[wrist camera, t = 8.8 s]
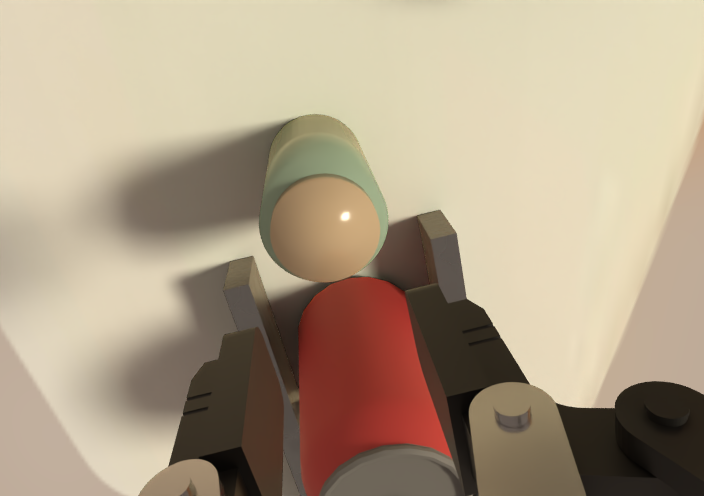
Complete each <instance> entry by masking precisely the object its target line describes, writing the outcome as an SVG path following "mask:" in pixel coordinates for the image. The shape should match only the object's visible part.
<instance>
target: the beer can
mask: <svg viewBox="0 0 704 496" xmlns="http://www.w3.org/2000/svg"><path fill="white" fill-rule="evenodd" d="M298 341H299V411H300V463H301V478H302V482H303V485H304V489H305V492H306V494H307V496H465V494H464V491H463V488H462V485H461V483H460V480H459V477H458V474H457V471H456V468H455V465H454V462H453V459H452V456H451V454H450V451H449V448H448V445H447V442H446V439H445V436H444V433H443V430H442V427H441V425H440V422H439V419H438V416H437V413H436V410H435V407H434V404H433V401H432V398H431V396H430V393H429V390H428V387H427V384H426V381H425V378H424V375H423V372H422V369H421V365H420V361H419V358H418V354H417V349H416V345H415V340H414V335H413V330H412V326H411V321H410V316H409V311H408V307H407V302H406V297H405V292H404V291H403V290H401V289H400V288H398V287H396V286H395V285H393V284H391V283H390V282H388V281H384V280H380V279H375V278H371V277H357V278H348V279H345V280H342V281H339V282H336V283H333V284H331V285H329V286H328V287H326V288H325V289H324V290H322V291H321V292H319V293H318V294H317V295H315V296H314V298H313V299H312V300H311V301H310V303H309V304H308V305H307V307H306V308H305V309H304V311H303V314H302V317H301V320H300V323H299V326H298ZM469 496H473V495H469Z"/></svg>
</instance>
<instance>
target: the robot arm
mask: <svg viewBox="0 0 704 496" xmlns="http://www.w3.org/2000/svg"><path fill="white" fill-rule="evenodd" d="M405 297H406V302H407V307H408V311H409V316H410V321H411V326H412V330H413V335H414V340H415V345H416V349H417V354H418V358H419V361H420V365H421V369H422V372H423V375H424V378H425V381H426V384H427V387H428V390H429V393H430V396H431V398H432V401H433V404H434V407H435V410H436V413H437V416H438V419H439V422H440V425H441V427H442V430H443V433H444V436H445V439H446V442H447V445H448V448H449V451H450V454H451V456H452V459H453V462H454V465H455V468H456V471H457V474H458V477H459V480H460V483H461V485H462V488H463V491H464V494H465V496H469V495H473V494H477V493H479V496H704V395H703V394H701V393H699V392H697V391H695V390H693V389H691V388H688V387H686V386H683V385H679V384H675V383H670V382H657V381H652V382H644V383H639V384H636V385H633V386H630V387H629V388H627V389H625V390H624V391H623V392H622V393H621V394H620V395H619V396H618V397H617V400H616V402H615V408H575V407H569V406H564V405H561V404H557V403H555V402H554V400H553V399H552V398H551V396H549V395H548V394H547V393H546V392H545V391H543V390H541V389H540V388H537V387H535V386H532V385H530V384H529V382H528V380H527V379H526V377H525V376H524V374H523V372H522V371H521V369H520V367H519V366H518V364H517V362H516V361H515V359H514V358H513V356H512V354H511V353H510V351H509V349H508V348H507V346H506V345H505V343H504V341H503V340H502V339H501V338H500V335H499V333H498V331H497V330H496V328H495V327H493V323H492V322H491V320H490V318H489V317H488V315H487V314H486V312H485V310H484V309H483V308H481V307H479V306H478V305H476V304H474V303H473V302H471V301H469V300H468V299H464V300H460V301H456V302H452V303H447V301H446V299H445V297H444V295H443V293H442V291H441V289H440V287H439V285H438V284H437V283H434V284H430V285H426V286H422V287H418V288H414V289H410V290H406V291H405ZM283 431H284V403H283V396H282V391H281V387H280V383H279V380H278V377H277V374H276V372H275V369H274V366H273V363H272V360H271V358H270V355H269V352H268V349H267V346H266V343H265V341H264V338H263V335H262V333H261V331H260V329H259V328H258V327H254V328H250V329H246V330H242V331H238V332H234V333H229V334H225V335H224V336H223V340H222V345H221V350H220V354H219V359H218V360H214V361H210V362H206V363H204V365H203V366H202V367H201V369H200V370H199V371H198V373H197V374H196V375H195V376H194V378H193V379H192V380H191V384H190V388H189V392H188V395H187V401H186V403H185V406H184V410H183V416H182V418H181V421H180V425H179V429H178V432H177V436H176V440H175V444H174V447H173V451H172V455H171V459H170V462H169V466H168V467H167V468H165V469H164V470H162V471H161V472H159V473H158V474H156V475H155V476H154V477H153V478H152V479H151V480H150V481H149V482H148V483H147V484H146V485H145V486H144V488H143V489H142V490H141V492H140V494H139V495H138V496H282V473H283Z"/></svg>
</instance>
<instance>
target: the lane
mask: <svg viewBox="0 0 704 496" xmlns="http://www.w3.org/2000/svg"><path fill="white" fill-rule="evenodd" d="M417 218H418V223H419V228H420V234H421V239H422V244H423V250H424V255H425V261H426V266H427V271H428V277H429V282H430V284H434V283H437V284H438V285H439V287H440V289H441V291H442V293H443V295H444V297H445V299H446V301H447V303H452V302H456V301H460V300H464V299H467V298H466V292H465V285H464V279H463V272H462V266H461V259H460V253H459V246H458V240H457V233H456V232H455V230H454V229H453V227H452V226H451V225H450V223H449V222H448V220H447V219H446V217H445V216H444V214H443V213H442V212H441V210H438V211H434V212H430V213H426V214H422V215H418V216H417ZM223 291H224V294H225V297H226V299H227V302H228V305H229V307H230V310H231V313H232V315H233V318H234V321H235V323H236V326H237V329H238V331H242V330H246V329H250V328H254V327H258V328H259V329H260V331H261V333H262V335H263V338H264V341H265V343H266V346H267V349H268V352H269V355H270V358H271V360H272V363H273V366H274V369H275V372H276V374H277V377H278V380H279V383H280V387H281V391H282V396H283V403H284V431H283V451H284V453H285V456H286V459H287V461H288V464H289V467H290V469H291V472H292V474H293V477H294V480H295V482H296V485H297V488H298V490H299V493H300V496H307V494H306V492H305V489H304V485H303V482H302V478H301V463H300V411H299V390H298V387H297V384H296V381H295V378H294V375H293V372H292V369H291V366H290V363H289V360H288V357H287V354H286V351H285V348H284V345H283V342H282V340H281V337H280V334H279V331H278V328H277V325H276V322H275V319H274V316H273V313H272V310H271V307H270V304H269V301H268V298H267V295H266V292H265V289H264V286H263V283H262V280H261V277H260V275H259V272H258V269H257V266H256V263H255V260H254V257H253V256H251V257H247V258H243V259H239V260H235V261H231V262H230V264H229V268H228V273H227V277H226V281H225V285H224V289H223ZM473 496H479V493H477V494H473Z"/></svg>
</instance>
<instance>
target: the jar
mask: <svg viewBox="0 0 704 496" xmlns="http://www.w3.org/2000/svg"><path fill="white" fill-rule="evenodd" d="M259 230H260V235H261V239H262V242H263V245H264V247H265V249H266V251H267V252H268V254H269V255H270V257H271V258H272V259H273V260H274V261H275V262H276V263H277V264H278V265H279V266H280V267H281V268H282V269H284V270H285V271H287V272H288V273H290V274H292V275H294V276H296V277H299V278H302V279H305V280H309V281H314V282H334V281H339V280H342V279H345V278H347V277H350V276H352V275H353V274H355V273H357V272H359V271H360V270H362V269H363V268H365V267H366V266H367V265H368V264H369V263H370V262H371V261H372V260H373V259H374V258H375V257H376V255H377V254H378V253H379V251H380V249H381V248H382V246H383V243H384V241H385V238H386V235H387V230H388V211H387V207H386V203H385V200H384V198H383V196H382V193H381V191H380V189H379V187H378V185H377V182H376V180H375V178H374V176H373V174H372V171H371V169H370V167H369V165H368V163H367V160H366V158H365V156H364V154H363V151H362V149H361V147H360V145H359V143H358V140H357V138H356V137H355V135H354V134H353V132H352V131H351V130H350V129H349V128H348V127H347V126H346V125H345V124H343V123H342V122H341V121H339V120H337V119H335V118H332V117H330V116H325V115H318V114H313V115H305V116H301V117H298V118H296V119H294V120H292V121H290V122H289V123H287V124H286V125H285V126H284V127H283V128H282V129H281V130H280V131H279V132H278V133H277V135H276V136H275V138H274V140H273V142H272V145H271V148H270V153H269V159H268V165H267V171H266V177H265V184H264V190H263V196H262V202H261V209H260V215H259Z"/></svg>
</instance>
